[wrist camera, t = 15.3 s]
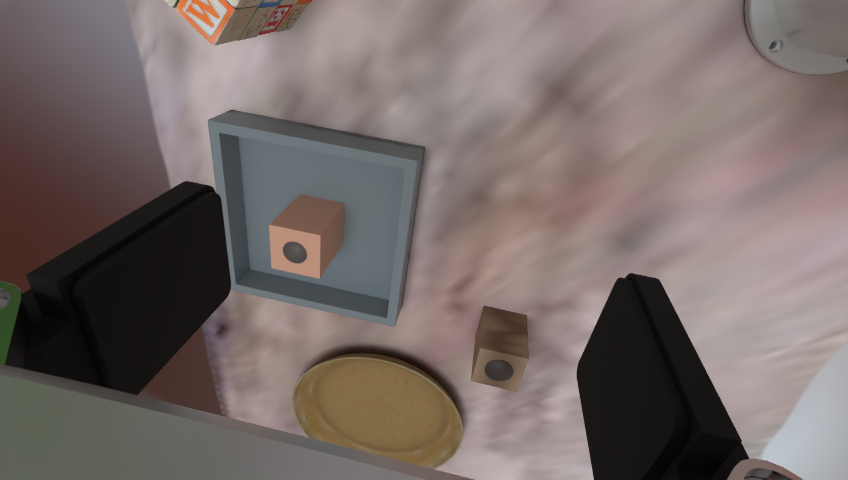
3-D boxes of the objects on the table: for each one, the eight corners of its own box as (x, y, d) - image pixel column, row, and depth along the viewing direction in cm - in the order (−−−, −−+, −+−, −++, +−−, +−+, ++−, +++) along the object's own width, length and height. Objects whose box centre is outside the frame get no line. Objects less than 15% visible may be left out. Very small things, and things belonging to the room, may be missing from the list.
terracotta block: (345, 203, 46) (320, 235, 40) (343, 243, 49) (319, 279, 43) (300, 194, 46) (268, 225, 40) (300, 234, 49) (271, 268, 43)
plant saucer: (462, 346, 55) (459, 366, 52) (467, 464, 66) (465, 485, 64) (285, 334, 59) (273, 351, 56) (319, 447, 71) (311, 466, 68)
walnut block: (526, 315, 50) (528, 359, 44) (515, 346, 53) (516, 392, 47) (483, 305, 51) (480, 348, 45) (475, 336, 53) (470, 381, 47)
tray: (424, 147, 42) (417, 160, 39) (402, 305, 53) (394, 326, 49) (231, 109, 44) (207, 120, 40) (246, 270, 54) (228, 289, 51)
